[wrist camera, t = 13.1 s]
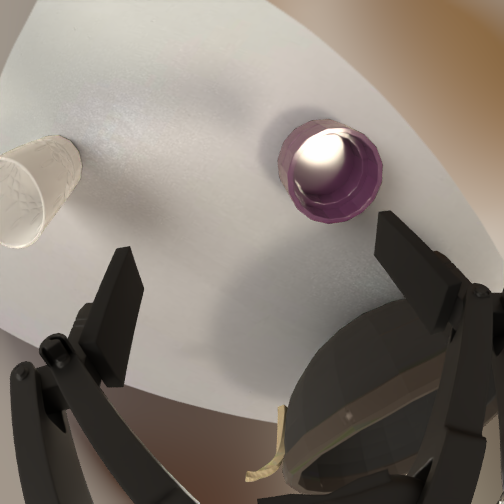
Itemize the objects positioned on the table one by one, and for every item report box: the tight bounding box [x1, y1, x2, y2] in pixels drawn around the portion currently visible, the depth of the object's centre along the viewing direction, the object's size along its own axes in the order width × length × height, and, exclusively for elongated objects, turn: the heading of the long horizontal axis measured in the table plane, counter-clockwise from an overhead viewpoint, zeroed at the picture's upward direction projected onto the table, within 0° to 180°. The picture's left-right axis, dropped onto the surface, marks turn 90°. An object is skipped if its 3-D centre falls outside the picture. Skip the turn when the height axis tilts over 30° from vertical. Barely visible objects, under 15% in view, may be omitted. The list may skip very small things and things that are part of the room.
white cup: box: [0, 135, 82, 249], centre depth 23 cm, size 8×8×10 cm
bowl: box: [246, 299, 498, 495], centre depth 38 cm, size 35×35×20 cm
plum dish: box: [277, 119, 383, 224], centre depth 29 cm, size 9×9×5 cm
